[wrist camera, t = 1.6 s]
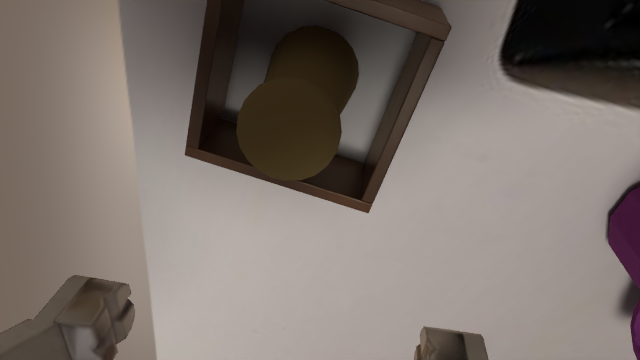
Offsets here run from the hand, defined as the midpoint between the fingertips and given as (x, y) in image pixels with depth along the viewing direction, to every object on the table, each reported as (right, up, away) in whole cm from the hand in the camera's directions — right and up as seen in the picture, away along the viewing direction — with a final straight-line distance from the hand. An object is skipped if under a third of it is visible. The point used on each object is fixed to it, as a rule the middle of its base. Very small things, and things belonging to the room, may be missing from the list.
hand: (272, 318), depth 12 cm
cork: (+1, +11, +18) cm, 21 cm away
